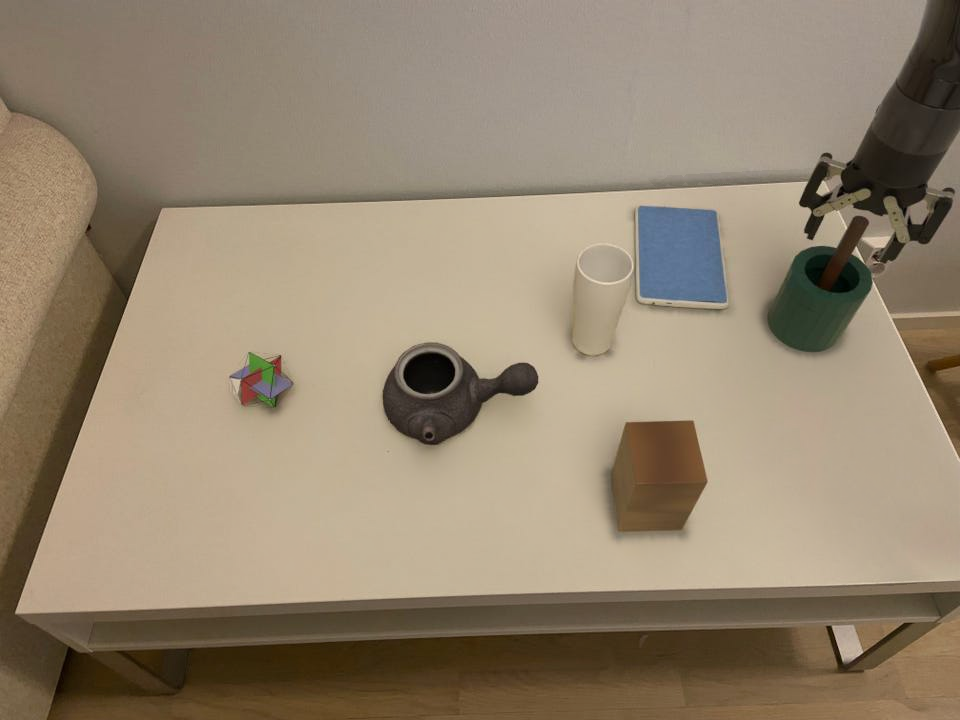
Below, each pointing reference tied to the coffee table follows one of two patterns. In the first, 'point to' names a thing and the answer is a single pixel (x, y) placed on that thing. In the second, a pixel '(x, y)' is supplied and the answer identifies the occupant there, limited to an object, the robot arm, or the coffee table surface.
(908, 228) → the robot arm
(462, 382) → the teapot
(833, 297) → the green hollow cylinder
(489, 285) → the coffee table surface
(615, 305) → the white tall cup
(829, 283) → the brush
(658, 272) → the tablet
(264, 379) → the geometric puzzle
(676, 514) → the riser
